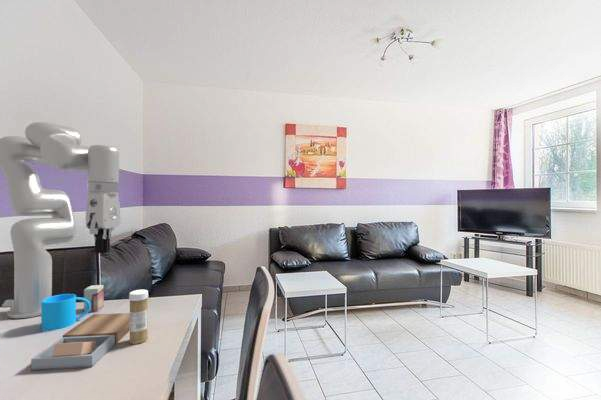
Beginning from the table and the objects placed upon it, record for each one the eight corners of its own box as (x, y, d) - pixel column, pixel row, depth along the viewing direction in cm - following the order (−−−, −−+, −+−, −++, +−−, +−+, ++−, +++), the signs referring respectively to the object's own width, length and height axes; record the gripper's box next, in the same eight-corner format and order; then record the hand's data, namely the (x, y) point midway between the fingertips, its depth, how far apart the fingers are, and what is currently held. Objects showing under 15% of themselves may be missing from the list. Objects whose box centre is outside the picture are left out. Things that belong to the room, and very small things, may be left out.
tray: (31, 370, 66) (31, 359, 66) (62, 347, 76) (62, 337, 76) (92, 367, 68) (92, 355, 68) (114, 344, 78) (115, 334, 78)
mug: (41, 333, 84) (41, 304, 84) (41, 324, 90) (41, 297, 90) (92, 321, 92) (92, 295, 92) (88, 314, 98) (89, 289, 98)
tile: (69, 342, 73) (67, 353, 72) (54, 344, 68) (51, 356, 67) (96, 341, 74) (93, 352, 73) (83, 342, 69) (80, 354, 68)
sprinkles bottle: (148, 335, 83) (148, 288, 83) (147, 342, 79) (148, 292, 79) (129, 338, 81) (129, 290, 81) (128, 346, 77) (128, 295, 77)
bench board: (62, 346, 77) (62, 335, 77) (93, 324, 90) (93, 314, 90) (116, 344, 78) (116, 332, 78) (138, 322, 92) (138, 312, 92)
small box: (97, 311, 101) (97, 288, 101) (83, 312, 100) (83, 289, 100) (104, 306, 105) (104, 284, 105) (90, 307, 104) (90, 285, 104)
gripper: (103, 188, 78) (102, 257, 78) (129, 189, 93) (128, 248, 93) (72, 187, 77) (71, 257, 77) (103, 189, 92) (102, 248, 92)
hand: (102, 252), depth 85 cm, fingers closed
